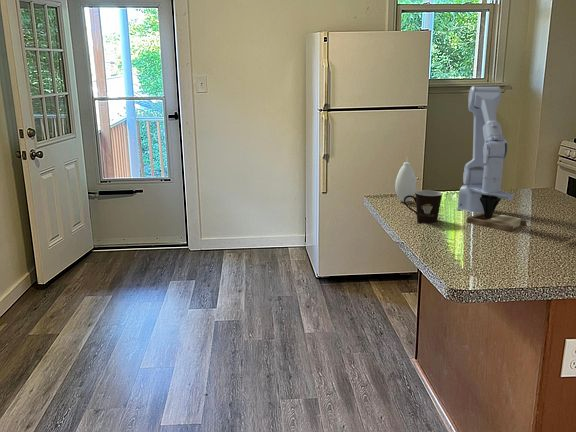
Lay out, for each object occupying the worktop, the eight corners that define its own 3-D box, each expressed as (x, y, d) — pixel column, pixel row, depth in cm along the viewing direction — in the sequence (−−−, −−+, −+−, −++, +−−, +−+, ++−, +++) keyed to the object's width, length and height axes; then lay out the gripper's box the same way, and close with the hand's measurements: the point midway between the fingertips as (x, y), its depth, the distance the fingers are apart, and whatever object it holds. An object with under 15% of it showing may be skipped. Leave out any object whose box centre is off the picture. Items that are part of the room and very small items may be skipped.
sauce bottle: (416, 204, 206) (419, 157, 202) (396, 204, 206) (398, 157, 202) (412, 199, 214) (415, 154, 209) (392, 199, 214) (395, 154, 209)
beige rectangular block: (489, 225, 175) (490, 218, 174) (501, 221, 180) (501, 214, 179) (509, 230, 170) (510, 222, 170) (520, 225, 175) (521, 218, 175)
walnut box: (466, 224, 179) (467, 217, 179) (483, 218, 186) (483, 212, 186) (510, 233, 168) (511, 227, 168) (526, 227, 176) (526, 220, 175)
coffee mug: (444, 221, 182) (446, 192, 179) (432, 227, 176) (434, 197, 173) (414, 215, 190) (415, 187, 187) (401, 220, 184) (402, 191, 181)
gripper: (465, 176, 178) (462, 215, 181) (508, 182, 168) (503, 224, 171) (476, 173, 183) (472, 212, 186) (518, 179, 172) (513, 220, 176)
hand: (488, 218), depth 179 cm, fingers closed
